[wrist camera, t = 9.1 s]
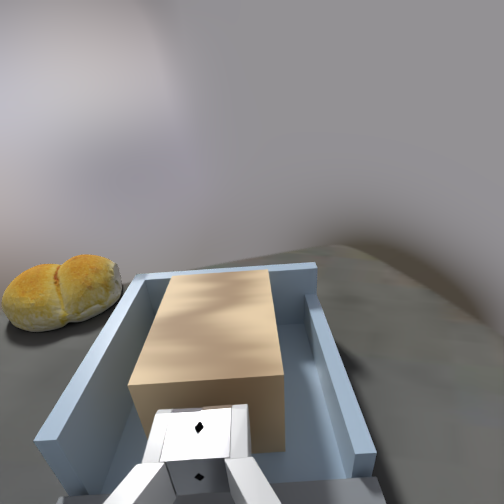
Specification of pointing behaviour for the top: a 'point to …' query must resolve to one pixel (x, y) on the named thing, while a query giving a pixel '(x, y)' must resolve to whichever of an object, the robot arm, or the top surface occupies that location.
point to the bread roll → (62, 293)
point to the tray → (271, 464)
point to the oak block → (215, 353)
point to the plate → (281, 493)
